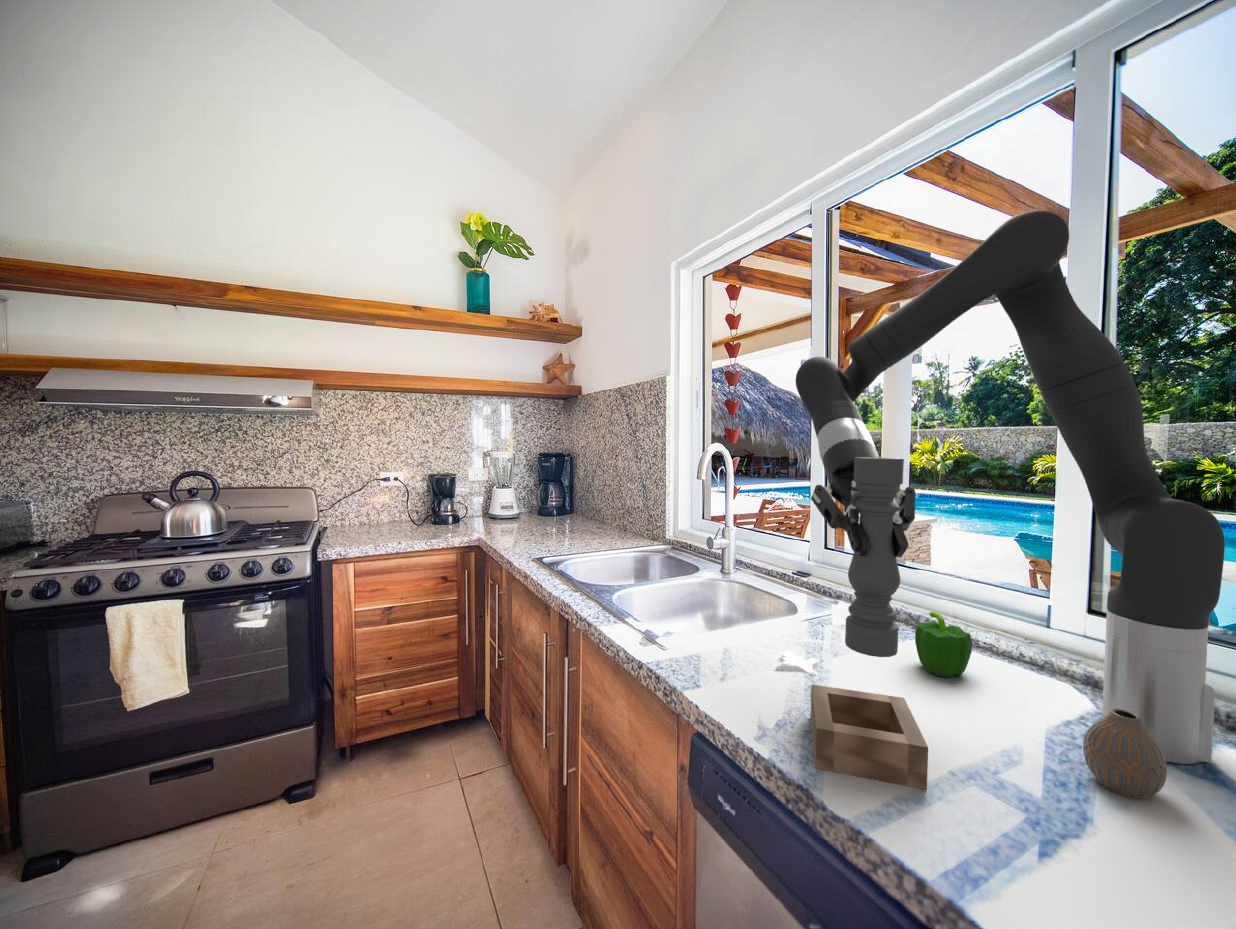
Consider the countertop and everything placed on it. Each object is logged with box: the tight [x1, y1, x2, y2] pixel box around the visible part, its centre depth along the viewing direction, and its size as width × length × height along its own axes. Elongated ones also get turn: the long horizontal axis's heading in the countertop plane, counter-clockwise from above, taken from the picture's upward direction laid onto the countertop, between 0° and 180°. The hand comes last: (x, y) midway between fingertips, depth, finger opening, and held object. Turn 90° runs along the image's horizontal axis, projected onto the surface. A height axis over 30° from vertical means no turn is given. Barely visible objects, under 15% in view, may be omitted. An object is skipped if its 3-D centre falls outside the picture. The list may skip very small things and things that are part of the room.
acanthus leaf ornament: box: [775, 650, 821, 677], centre depth 91 cm, size 8×7×2 cm
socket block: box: [809, 683, 929, 790], centre depth 65 cm, size 12×12×5 cm
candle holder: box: [844, 457, 905, 658], centre depth 66 cm, size 6×6×25 cm
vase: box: [1082, 709, 1168, 799], centre depth 59 cm, size 7×7×9 cm
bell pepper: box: [914, 611, 973, 678], centre depth 89 cm, size 8×8×10 cm
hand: (882, 552), depth 64 cm, fingers closed on candle holder, 4 cm apart
